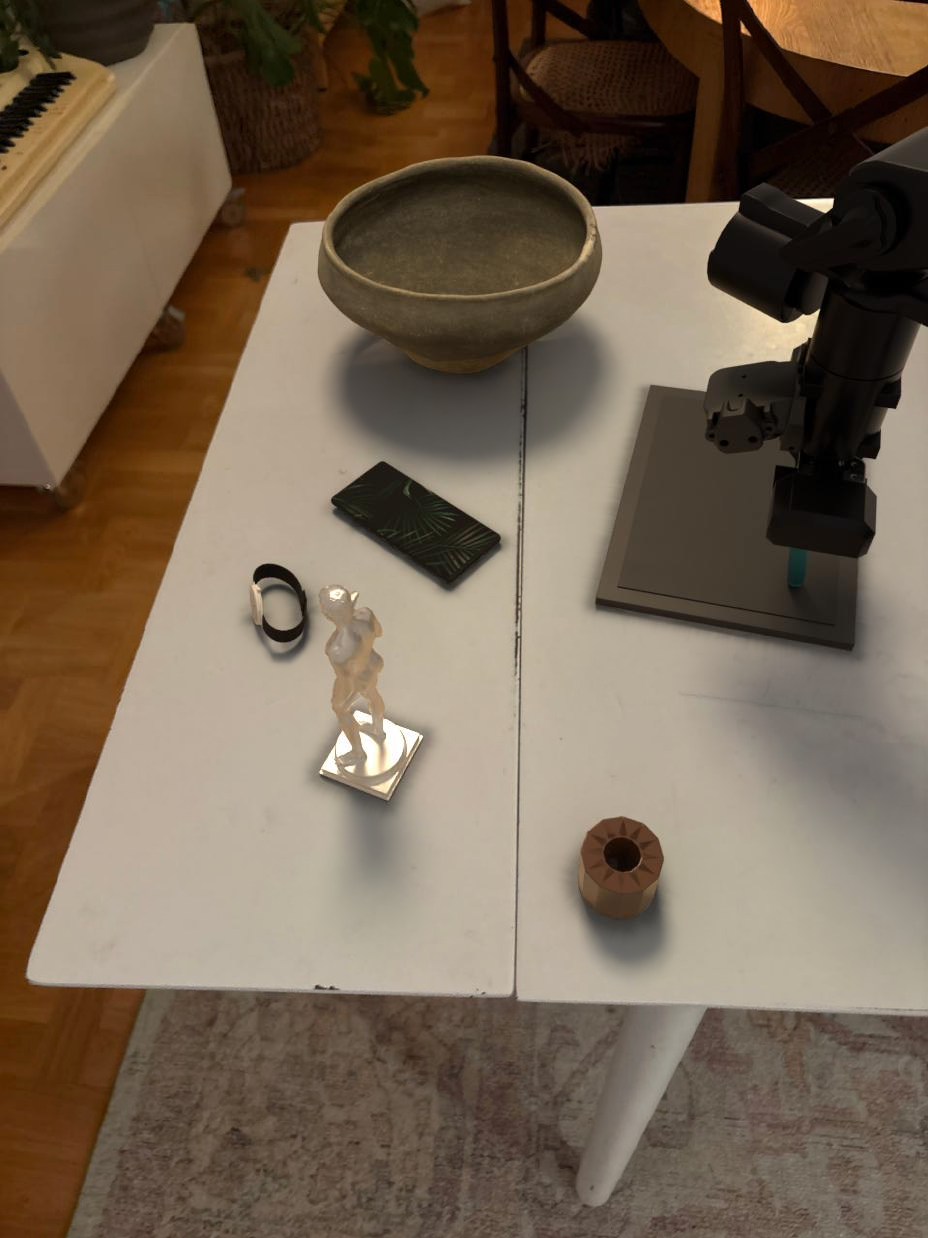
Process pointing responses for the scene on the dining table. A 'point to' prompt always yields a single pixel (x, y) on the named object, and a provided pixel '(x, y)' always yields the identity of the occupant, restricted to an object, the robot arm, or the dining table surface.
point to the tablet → (715, 537)
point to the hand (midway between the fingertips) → (798, 527)
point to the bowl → (461, 258)
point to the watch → (257, 606)
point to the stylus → (797, 566)
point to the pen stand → (619, 867)
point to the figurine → (367, 743)
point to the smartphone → (416, 521)
